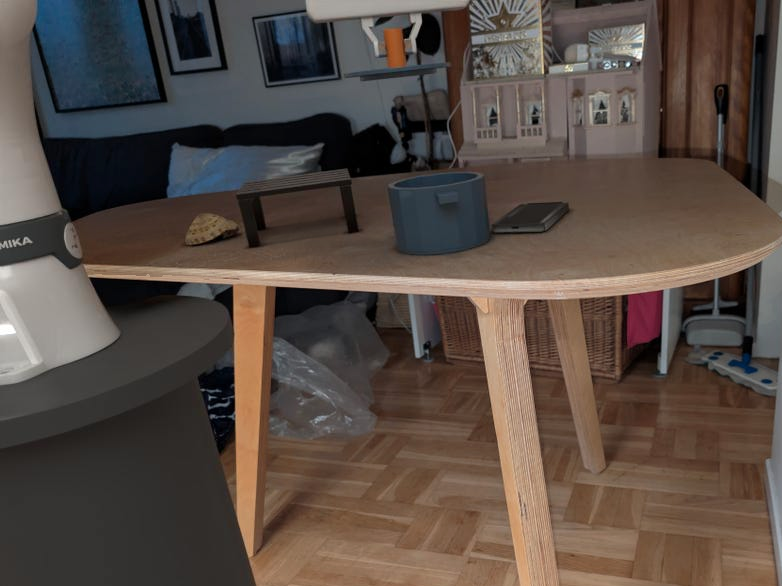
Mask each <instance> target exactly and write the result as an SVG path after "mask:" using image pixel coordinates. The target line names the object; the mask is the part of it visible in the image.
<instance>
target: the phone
mask: <svg viewBox="0 0 782 586" xmlns="http://www.w3.org/2000/svg"><path fill="white" fill-rule="evenodd" d="M569 210H570V205H569V201H552V202H551V201H550V202H549V201H548V202H526V203H525V202H524V203H520V204H519V205H517V206H515V207H514V208H513V209H511V210H509V211H508V212H507V213H506V214H503V215H502V216H501V217H499V218H498V219H497V220H495V221H494V222H492V223H491V228H492V233H495V234H509V233H512V234H513V233H541V232H545V231H547V230H549V229H550V228H551V227H552V226H553V225H554V224H556V222H557V221H559V220H560V219H561V218H562V217H563V216H565V214H567V213H568V212H569Z"/></svg>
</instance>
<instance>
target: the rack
mask: <svg viewBox="0 0 782 586" xmlns="http://www.w3.org/2000/svg"><path fill="white" fill-rule="evenodd" d="M352 184H353V181H352V178H351V175H350V173H349V169H348V168H342V169H341V168H339V169H335V170H326V171H319V172H312V173H304V174H296V175H288V176H281V177H273V178H267V179H259V180H258V179H257V180H251V181H250V180H249V181H245V182H244V183H243V185H242V186H241V187H240V188H239V189H238V191H237V192H236V193H235V198H236V200H237V202H238V207H239V209H240V214H241V219H242V223H243V227H244V232H245V235H246V240H247V245H248V248H249V249H250V248H252V249H253V248H259V247H261V239H260V236H259V235H260V233H259V231H264V230H267V223H266V218H265V213H264V210H263V205H262V201H261V197H267V196H275V195H276V196H277V195H284V194H291V193H297V192H305V191H311V190H319V189H326V188H335V187H339V191H340V196H341V202H342V208H343V213H344V218H345V221H346V227H347V228H346V229H347V233H348V234H353V233H359V232H360V230H359V225H358V219H357V213H356V208H355V202H354V194H353V190H352Z"/></svg>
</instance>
